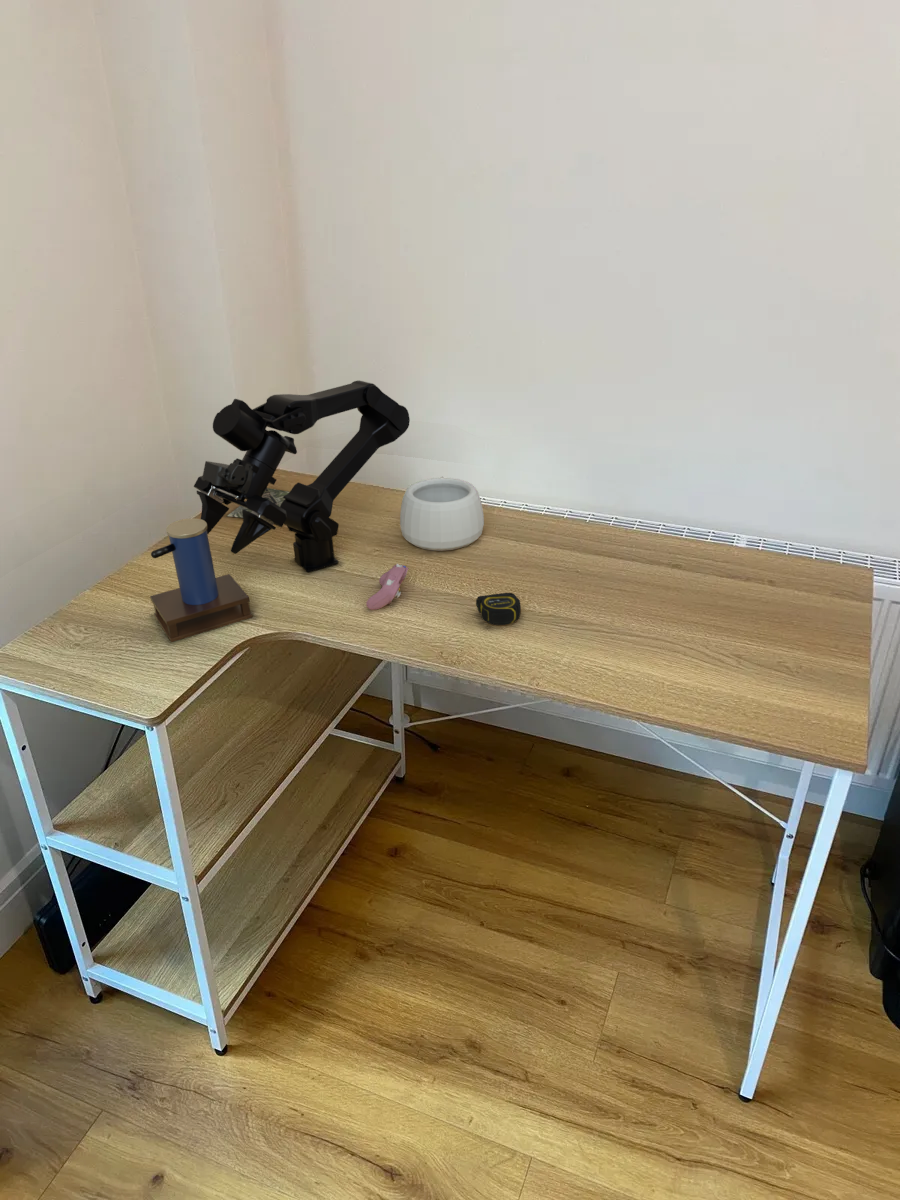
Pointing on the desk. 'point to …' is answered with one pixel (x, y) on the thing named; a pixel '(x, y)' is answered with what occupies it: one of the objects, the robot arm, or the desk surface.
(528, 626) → the desk surface
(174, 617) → the rack
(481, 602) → the tape measure
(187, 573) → the blue cylinder
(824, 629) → the desk surface
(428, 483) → the white round bowl
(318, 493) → the robot arm
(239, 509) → the eiffel tower figurine
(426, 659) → the desk surface
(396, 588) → the video game controller
